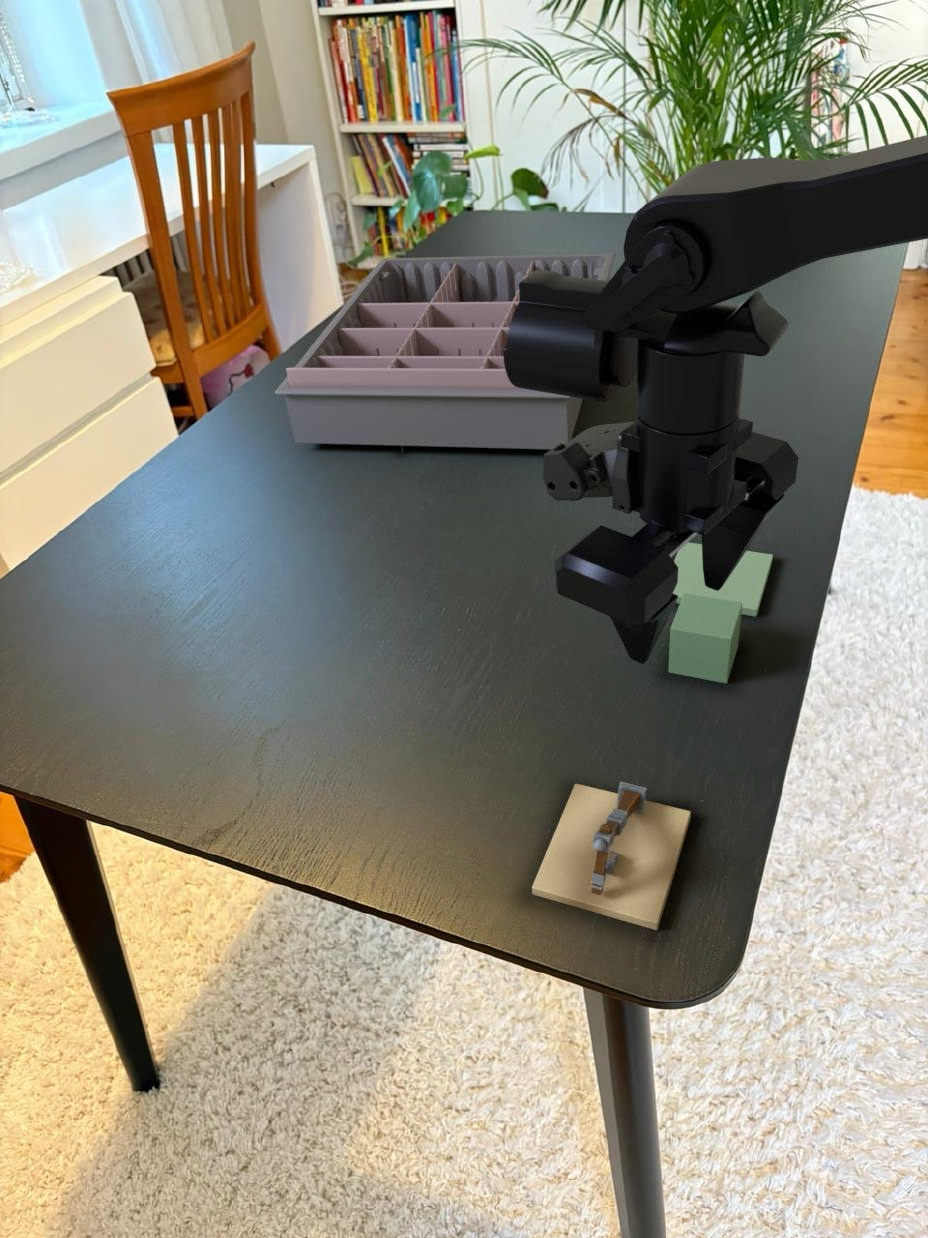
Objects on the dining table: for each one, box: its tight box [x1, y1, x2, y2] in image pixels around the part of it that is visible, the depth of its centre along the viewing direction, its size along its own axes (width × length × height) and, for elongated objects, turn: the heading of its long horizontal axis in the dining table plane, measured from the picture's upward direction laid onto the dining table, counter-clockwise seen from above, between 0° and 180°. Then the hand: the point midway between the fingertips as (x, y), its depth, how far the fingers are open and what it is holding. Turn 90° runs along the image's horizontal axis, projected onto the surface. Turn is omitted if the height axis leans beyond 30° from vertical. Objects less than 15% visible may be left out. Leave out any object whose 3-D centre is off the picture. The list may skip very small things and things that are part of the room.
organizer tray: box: [274, 252, 616, 452], centre depth 117 cm, size 32×40×10 cm
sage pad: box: [673, 541, 774, 617], centre depth 84 cm, size 8×8×1 cm
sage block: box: [668, 593, 742, 684], centre depth 75 cm, size 4×4×4 cm
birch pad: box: [531, 783, 692, 931], centre depth 63 cm, size 8×9×1 cm
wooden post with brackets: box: [591, 781, 648, 895], centre depth 61 cm, size 2×8×4 cm, turn 156°
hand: (676, 622), depth 65 cm, fingers open, 9 cm apart
